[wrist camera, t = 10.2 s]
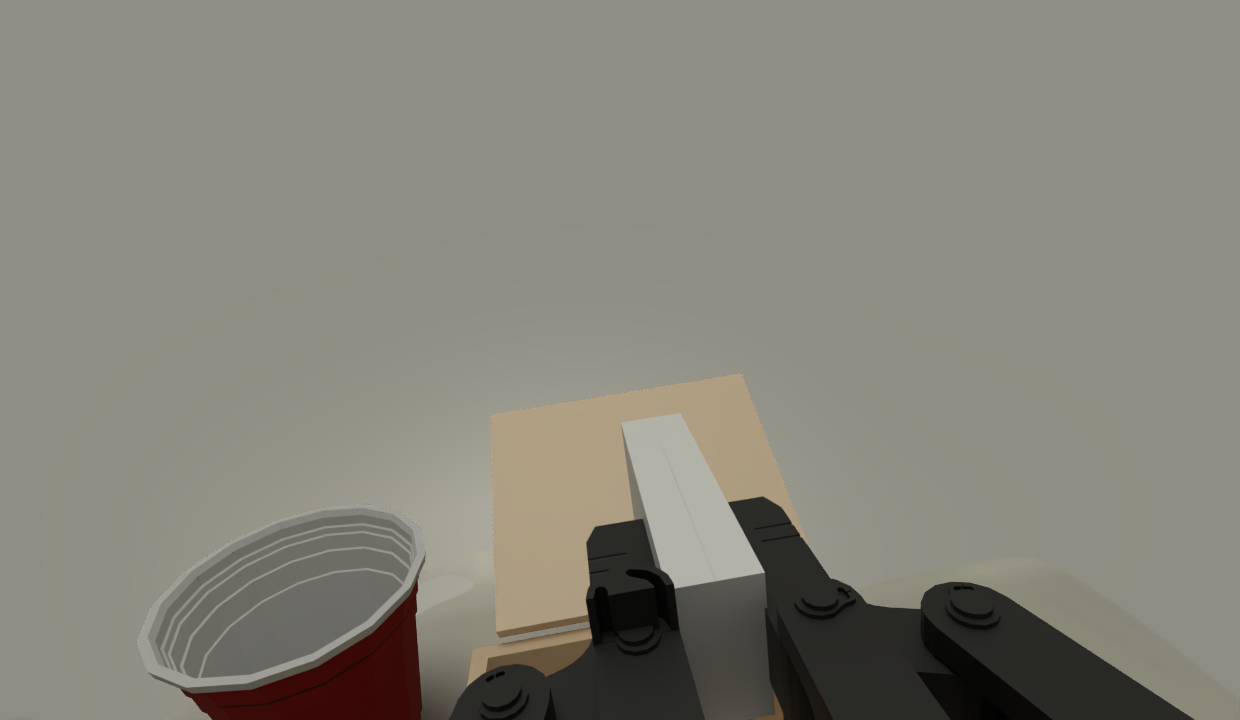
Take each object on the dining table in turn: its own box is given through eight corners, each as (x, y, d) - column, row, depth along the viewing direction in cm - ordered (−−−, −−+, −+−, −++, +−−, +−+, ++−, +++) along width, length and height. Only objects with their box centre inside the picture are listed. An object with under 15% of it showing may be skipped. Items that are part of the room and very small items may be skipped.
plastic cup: (239, 987, 23) (116, 726, 19) (228, 772, 32) (143, 568, 28) (514, 802, 28) (457, 571, 25) (439, 663, 37) (389, 479, 33)
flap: (496, 631, 23) (490, 414, 30) (499, 637, 23) (493, 422, 30) (818, 572, 24) (741, 373, 30) (815, 579, 24) (740, 381, 31)
